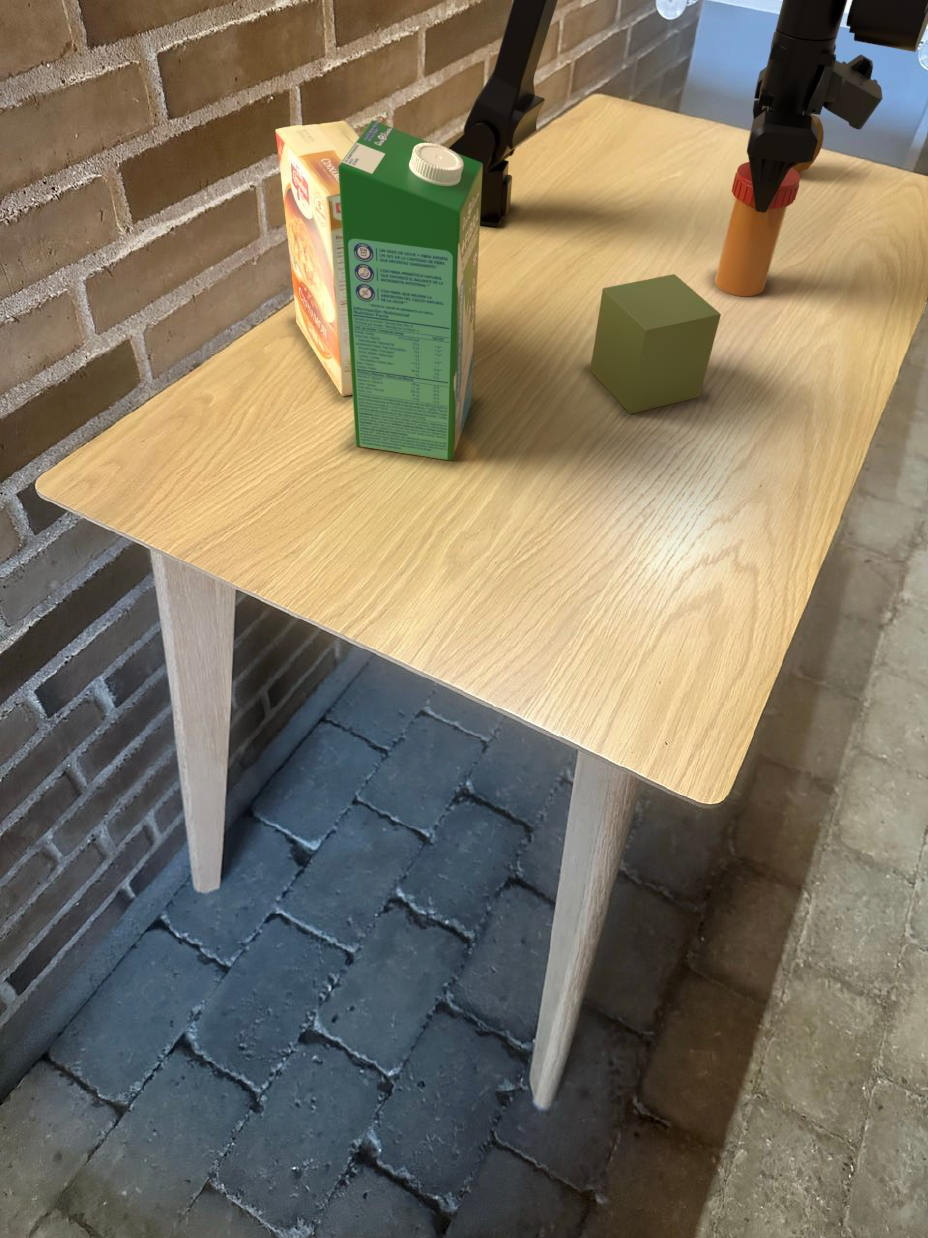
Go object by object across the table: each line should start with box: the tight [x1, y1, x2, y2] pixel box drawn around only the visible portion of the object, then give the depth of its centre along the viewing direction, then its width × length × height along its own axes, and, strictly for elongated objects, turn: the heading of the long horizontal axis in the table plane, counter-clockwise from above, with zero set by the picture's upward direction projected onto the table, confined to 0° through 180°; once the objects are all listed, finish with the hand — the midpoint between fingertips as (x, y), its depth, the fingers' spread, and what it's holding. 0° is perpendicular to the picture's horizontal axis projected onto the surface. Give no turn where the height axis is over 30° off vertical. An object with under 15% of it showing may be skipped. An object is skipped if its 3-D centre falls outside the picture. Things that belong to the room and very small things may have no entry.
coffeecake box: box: [274, 120, 360, 397], centre depth 89 cm, size 15×7×20 cm, turn 24°
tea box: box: [589, 273, 722, 415], centre depth 90 cm, size 8×8×9 cm
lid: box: [731, 161, 801, 209], centre depth 100 cm, size 7×7×2 cm
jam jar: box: [714, 197, 788, 297], centre depth 104 cm, size 6×6×12 cm
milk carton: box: [338, 119, 483, 462], centre depth 79 cm, size 9×9×25 cm
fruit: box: [792, 114, 825, 174], centre depth 127 cm, size 6×6×8 cm
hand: (762, 195), depth 101 cm, fingers open, 7 cm apart
